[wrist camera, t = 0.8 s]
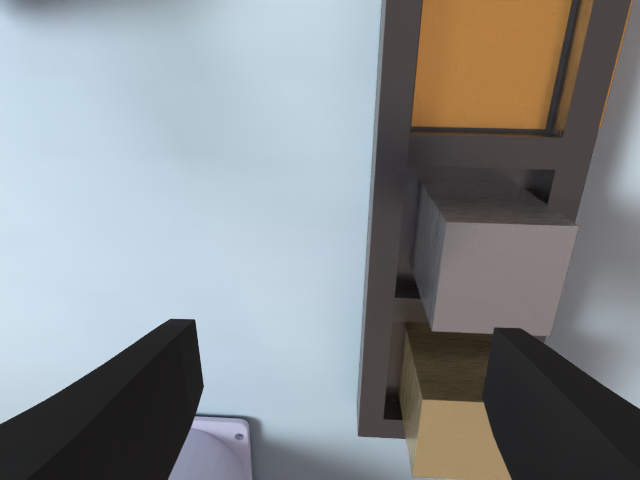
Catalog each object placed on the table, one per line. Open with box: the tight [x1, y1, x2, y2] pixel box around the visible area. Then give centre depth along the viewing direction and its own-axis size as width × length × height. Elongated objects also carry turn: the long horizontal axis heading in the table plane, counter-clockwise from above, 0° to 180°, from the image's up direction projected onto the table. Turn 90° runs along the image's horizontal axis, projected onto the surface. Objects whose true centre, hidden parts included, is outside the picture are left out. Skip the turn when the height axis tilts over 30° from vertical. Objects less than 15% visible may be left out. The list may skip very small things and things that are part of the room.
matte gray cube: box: [411, 182, 579, 336], centre depth 16 cm, size 4×4×5 cm
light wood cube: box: [398, 324, 512, 480], centre depth 19 cm, size 4×4×5 cm
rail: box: [357, 0, 633, 439], centre depth 18 cm, size 22×8×2 cm, turn 179°
